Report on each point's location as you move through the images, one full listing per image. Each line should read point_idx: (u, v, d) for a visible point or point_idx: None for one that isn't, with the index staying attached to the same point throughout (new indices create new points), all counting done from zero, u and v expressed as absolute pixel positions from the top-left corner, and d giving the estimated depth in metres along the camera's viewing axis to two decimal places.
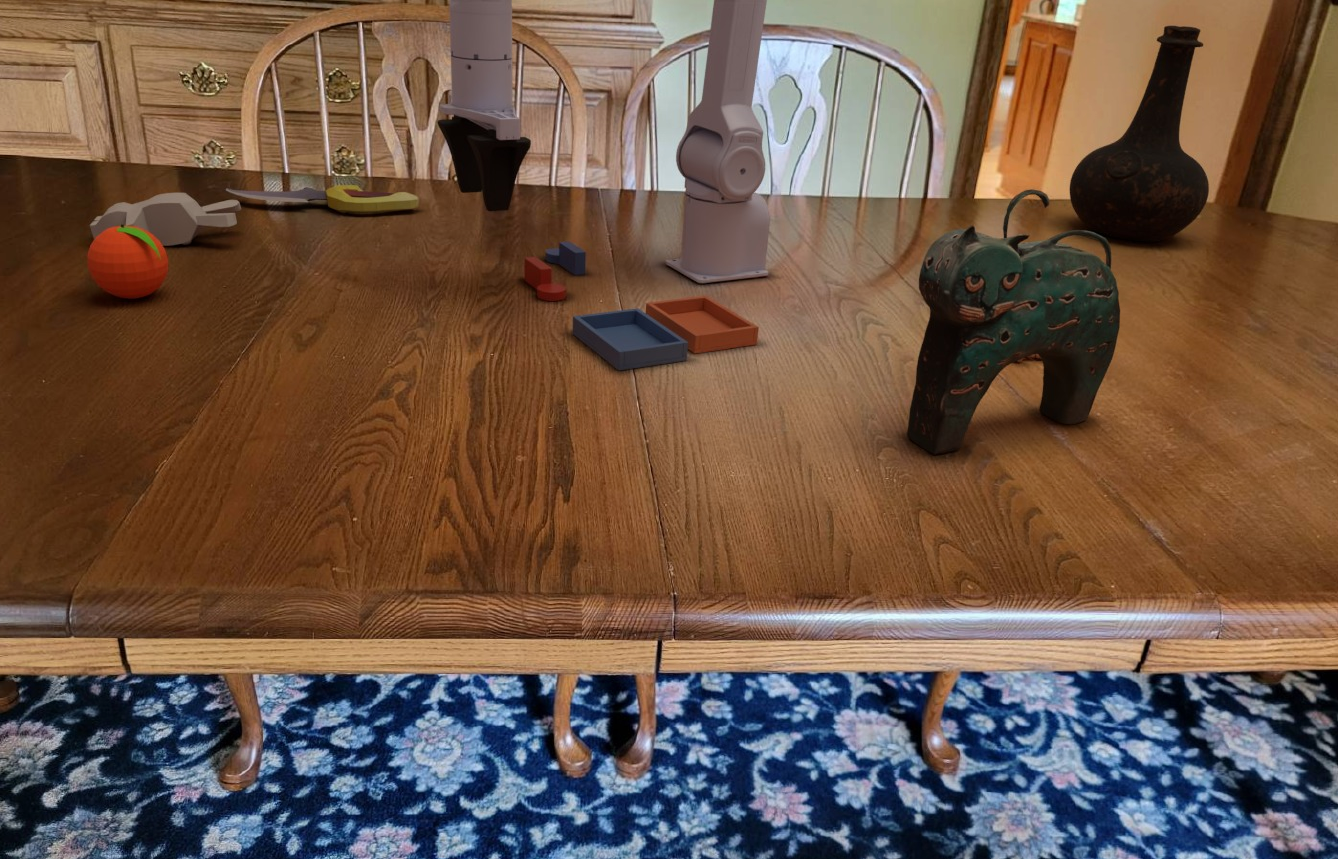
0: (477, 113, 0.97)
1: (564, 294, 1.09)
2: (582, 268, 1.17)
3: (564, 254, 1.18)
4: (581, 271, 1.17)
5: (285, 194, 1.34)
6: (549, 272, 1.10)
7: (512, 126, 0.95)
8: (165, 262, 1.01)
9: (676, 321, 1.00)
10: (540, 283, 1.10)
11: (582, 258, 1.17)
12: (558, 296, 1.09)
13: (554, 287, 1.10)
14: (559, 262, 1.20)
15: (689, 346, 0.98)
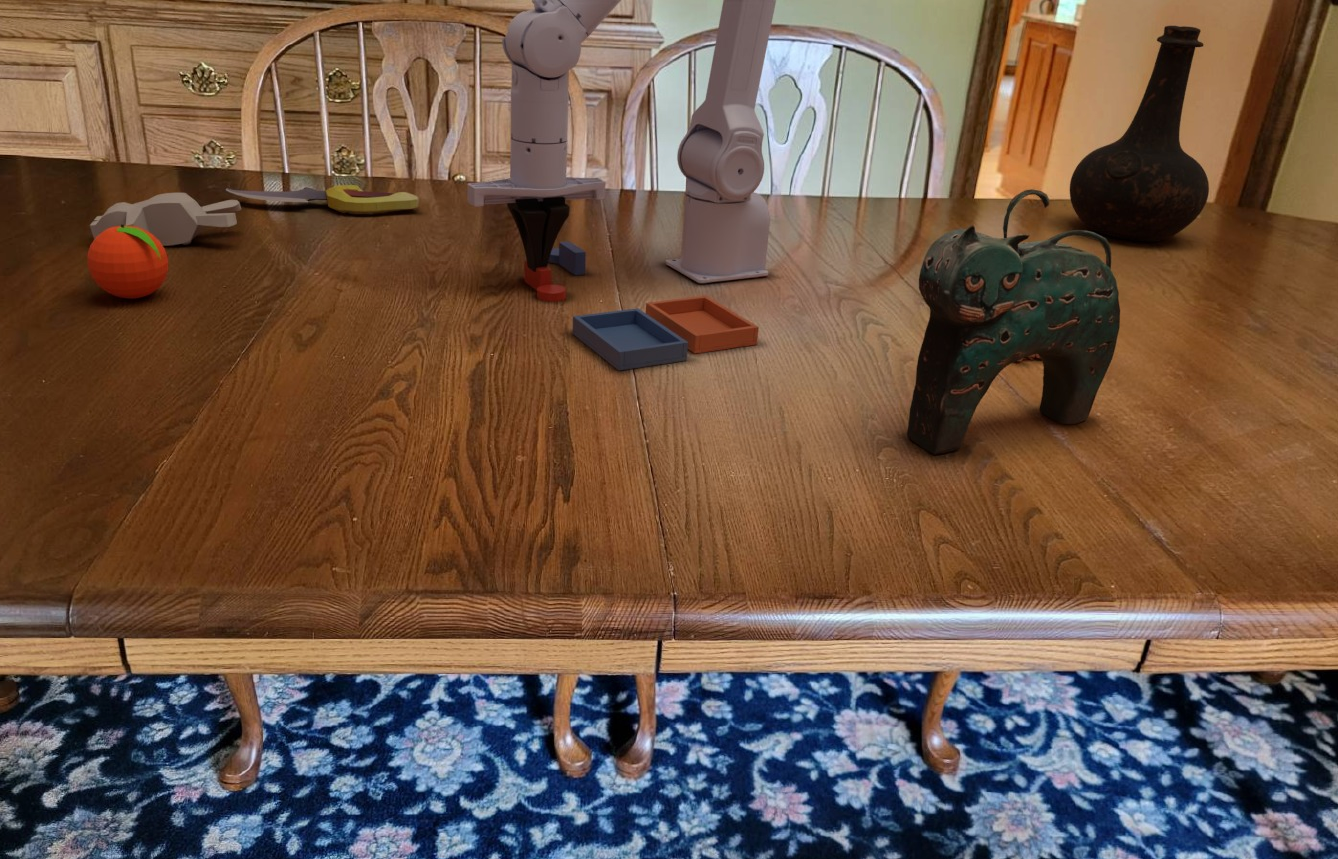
0: None
1: (564, 295, 1.09)
2: (582, 268, 1.17)
3: (564, 254, 1.18)
4: (581, 271, 1.17)
5: (285, 194, 1.34)
6: (549, 273, 1.10)
7: (471, 193, 1.05)
8: (165, 262, 1.01)
9: (676, 321, 1.00)
10: (540, 284, 1.10)
11: (582, 258, 1.17)
12: (558, 297, 1.09)
13: (554, 288, 1.10)
14: (559, 262, 1.20)
15: (689, 346, 0.98)
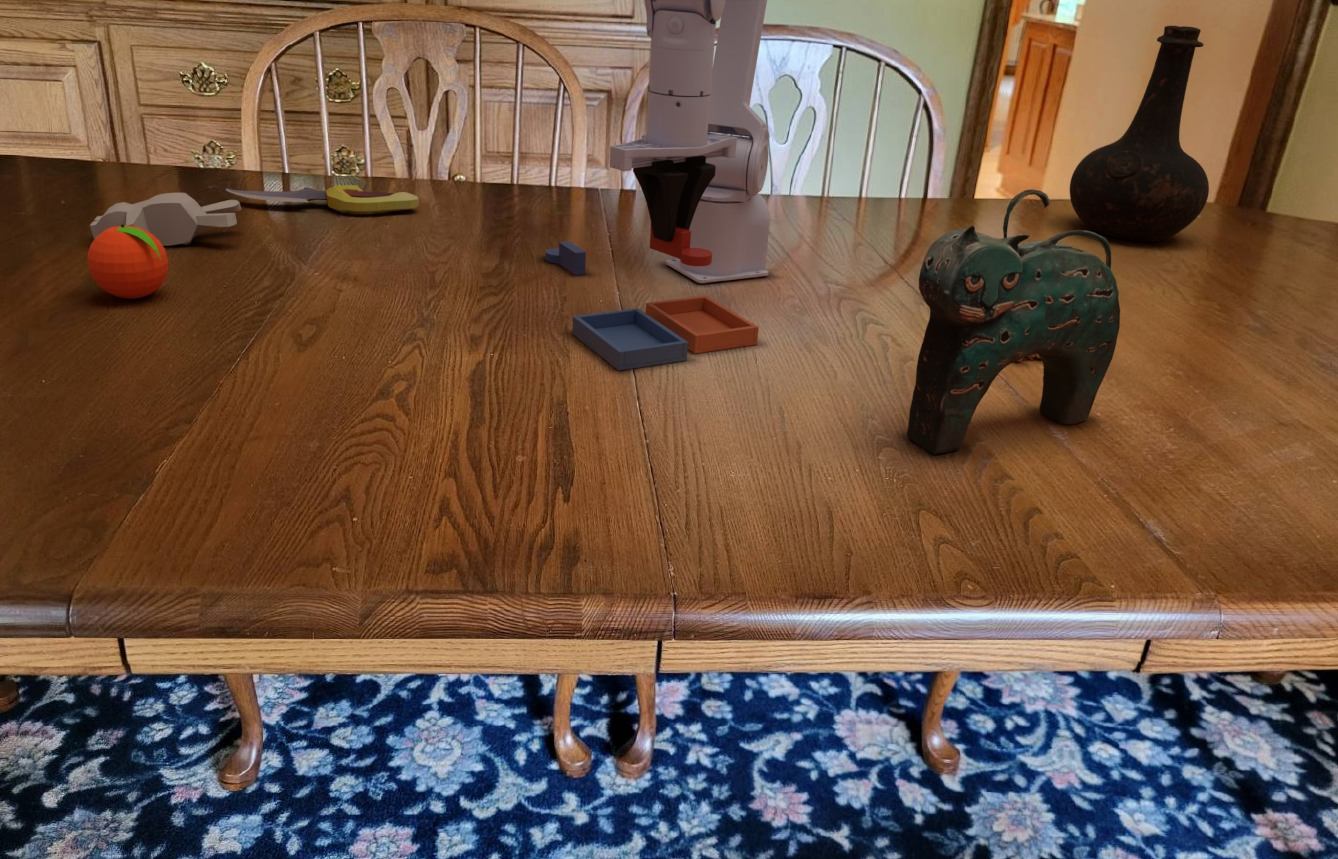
0: None
1: (711, 258, 1.00)
2: (582, 268, 1.17)
3: (564, 254, 1.18)
4: (581, 271, 1.17)
5: (285, 194, 1.34)
6: (689, 235, 1.00)
7: (618, 156, 0.94)
8: (165, 262, 1.01)
9: (676, 321, 1.00)
10: (680, 248, 1.00)
11: (582, 258, 1.17)
12: (708, 260, 0.99)
13: (698, 251, 1.00)
14: (559, 262, 1.20)
15: (689, 346, 0.98)
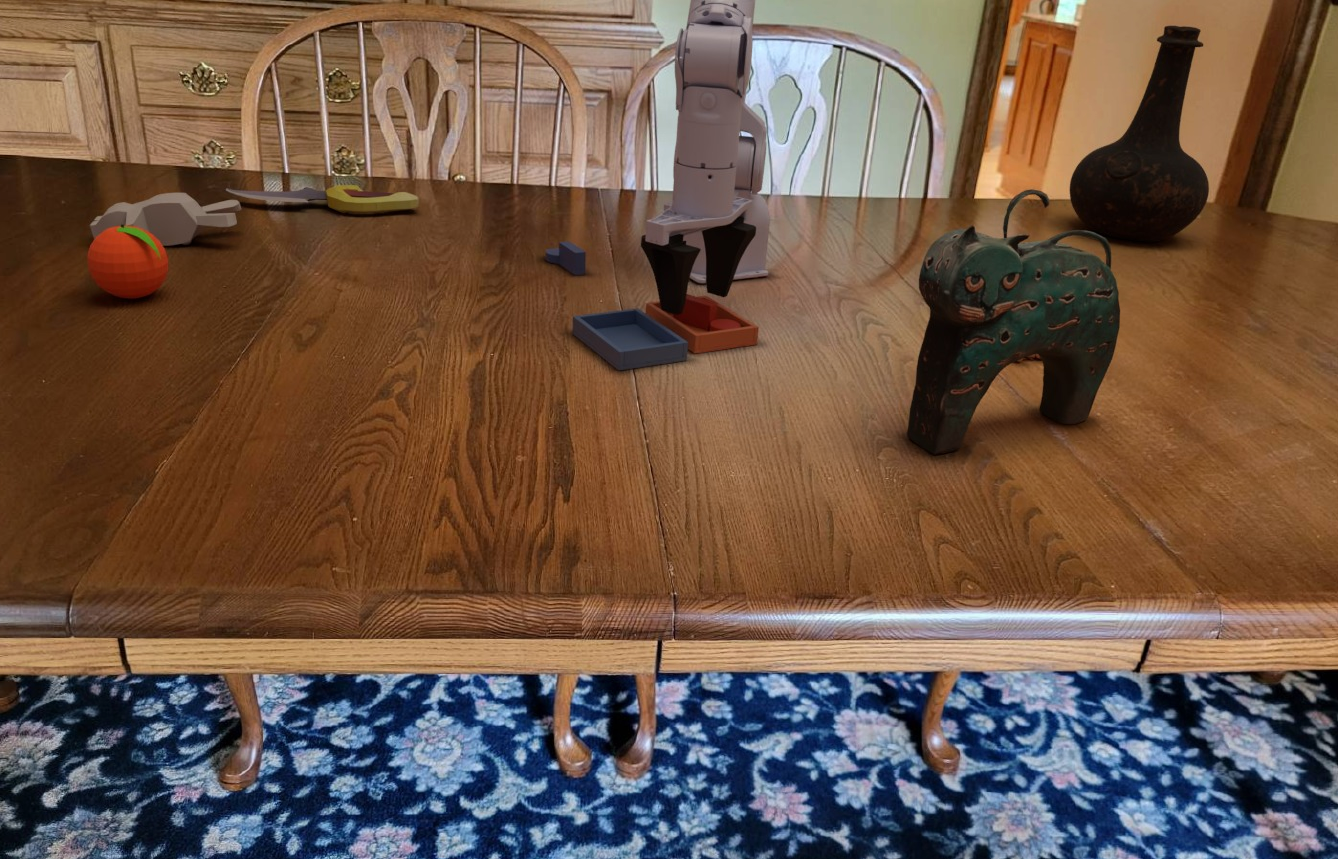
0: None
1: None
2: (582, 268, 1.17)
3: (564, 254, 1.18)
4: (581, 271, 1.17)
5: (285, 194, 1.34)
6: (715, 307, 1.02)
7: (656, 231, 0.94)
8: (165, 262, 1.01)
9: (676, 321, 1.00)
10: (708, 320, 1.02)
11: (582, 258, 1.17)
12: None
13: (726, 323, 1.02)
14: (559, 262, 1.20)
15: (689, 346, 0.98)
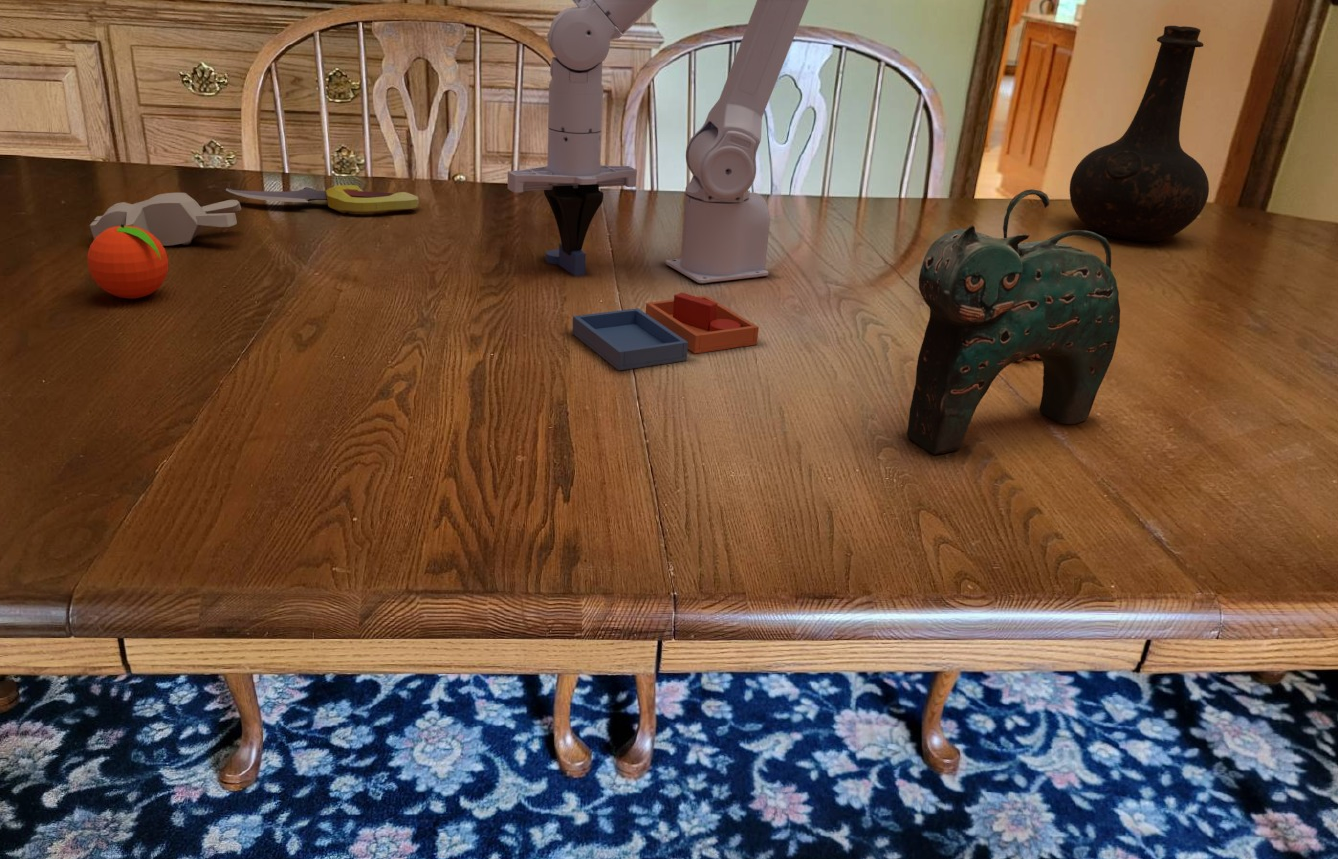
0: (612, 173, 1.14)
1: None
2: (582, 270, 1.17)
3: (564, 255, 1.18)
4: (581, 272, 1.17)
5: (285, 194, 1.34)
6: (715, 307, 1.02)
7: None
8: (165, 262, 1.01)
9: (676, 321, 1.00)
10: (708, 320, 1.02)
11: (582, 259, 1.17)
12: None
13: (726, 323, 1.02)
14: (559, 263, 1.20)
15: (689, 346, 0.98)
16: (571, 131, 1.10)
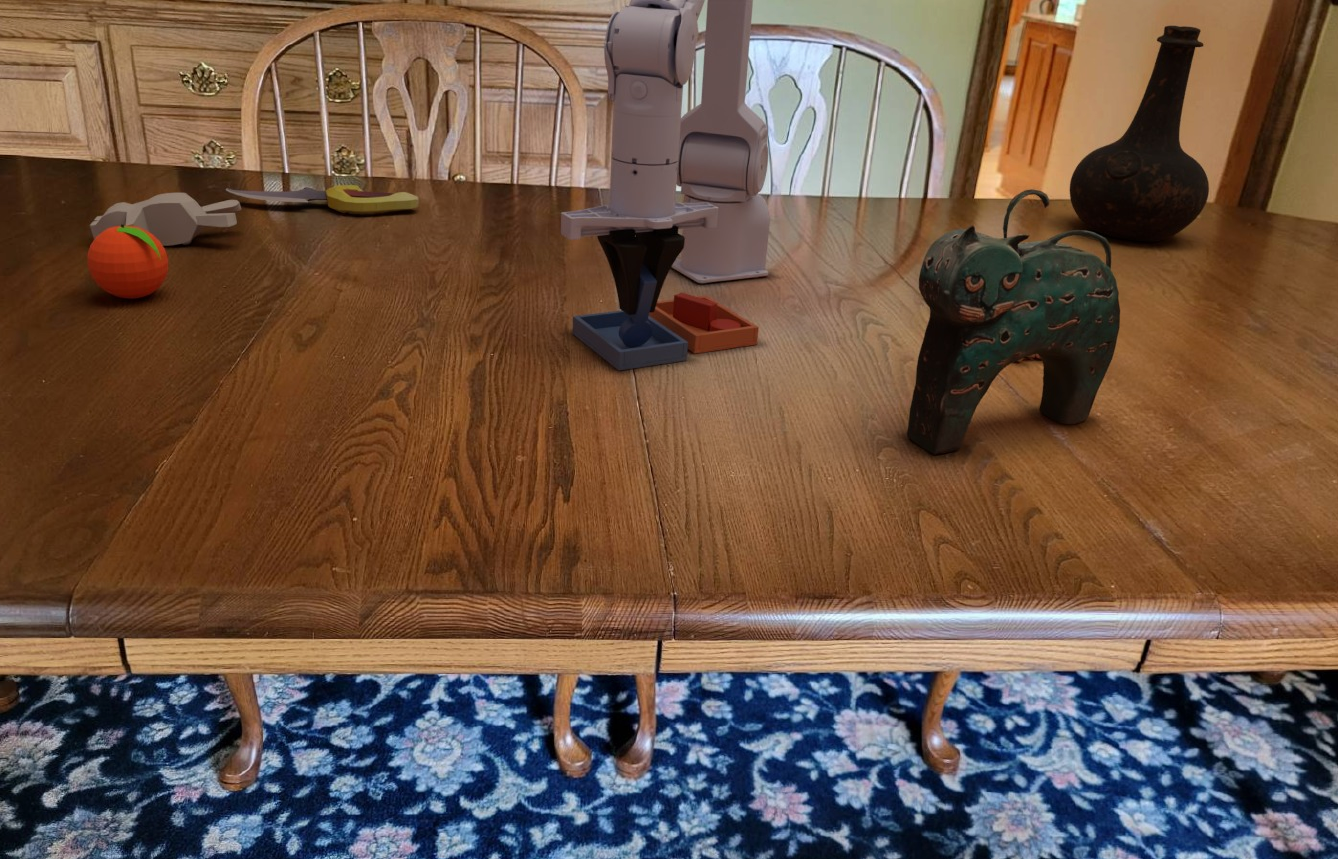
0: (690, 213, 0.92)
1: None
2: (649, 277, 0.93)
3: None
4: (650, 279, 0.93)
5: (285, 194, 1.34)
6: (715, 307, 1.02)
7: None
8: (165, 262, 1.01)
9: (676, 321, 1.00)
10: (708, 320, 1.02)
11: (644, 269, 0.93)
12: None
13: (726, 323, 1.02)
14: (633, 319, 0.95)
15: (689, 346, 0.98)
16: (642, 162, 0.87)
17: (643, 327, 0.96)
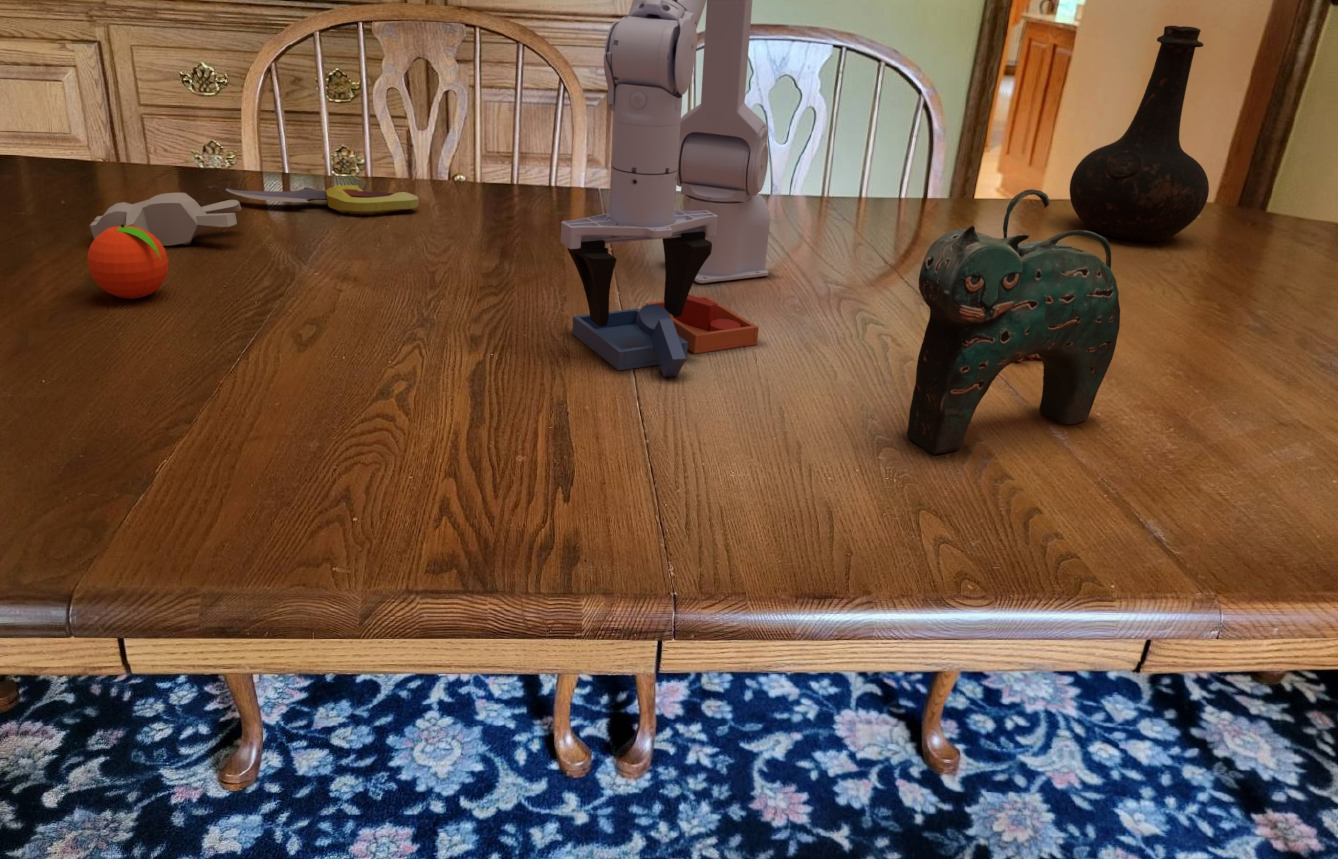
0: (689, 221, 0.92)
1: None
2: (675, 372, 0.92)
3: (660, 340, 0.92)
4: (673, 374, 0.92)
5: (285, 194, 1.34)
6: (715, 307, 1.02)
7: None
8: (165, 262, 1.01)
9: (676, 321, 1.00)
10: (708, 320, 1.02)
11: (679, 364, 0.91)
12: None
13: (726, 323, 1.02)
14: (651, 337, 0.94)
15: (689, 346, 0.98)
16: (641, 172, 0.87)
17: None
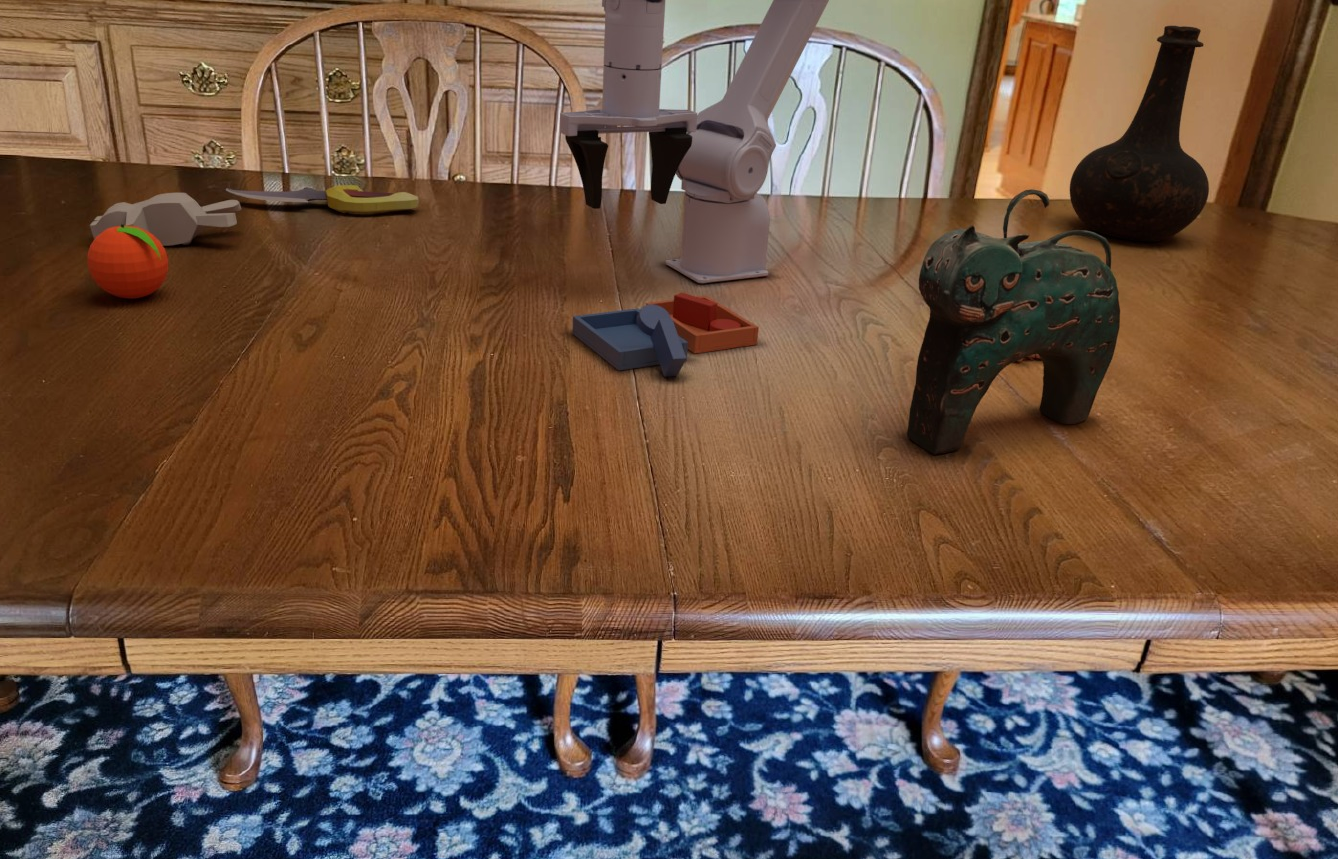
0: (672, 116, 1.05)
1: None
2: (675, 371, 0.92)
3: (661, 340, 0.92)
4: (673, 374, 0.92)
5: (285, 194, 1.34)
6: (715, 307, 1.02)
7: None
8: (165, 262, 1.01)
9: (676, 321, 1.00)
10: (708, 320, 1.02)
11: (679, 363, 0.91)
12: None
13: (726, 323, 1.02)
14: (651, 337, 0.94)
15: (689, 346, 0.98)
16: (630, 67, 1.01)
17: None
